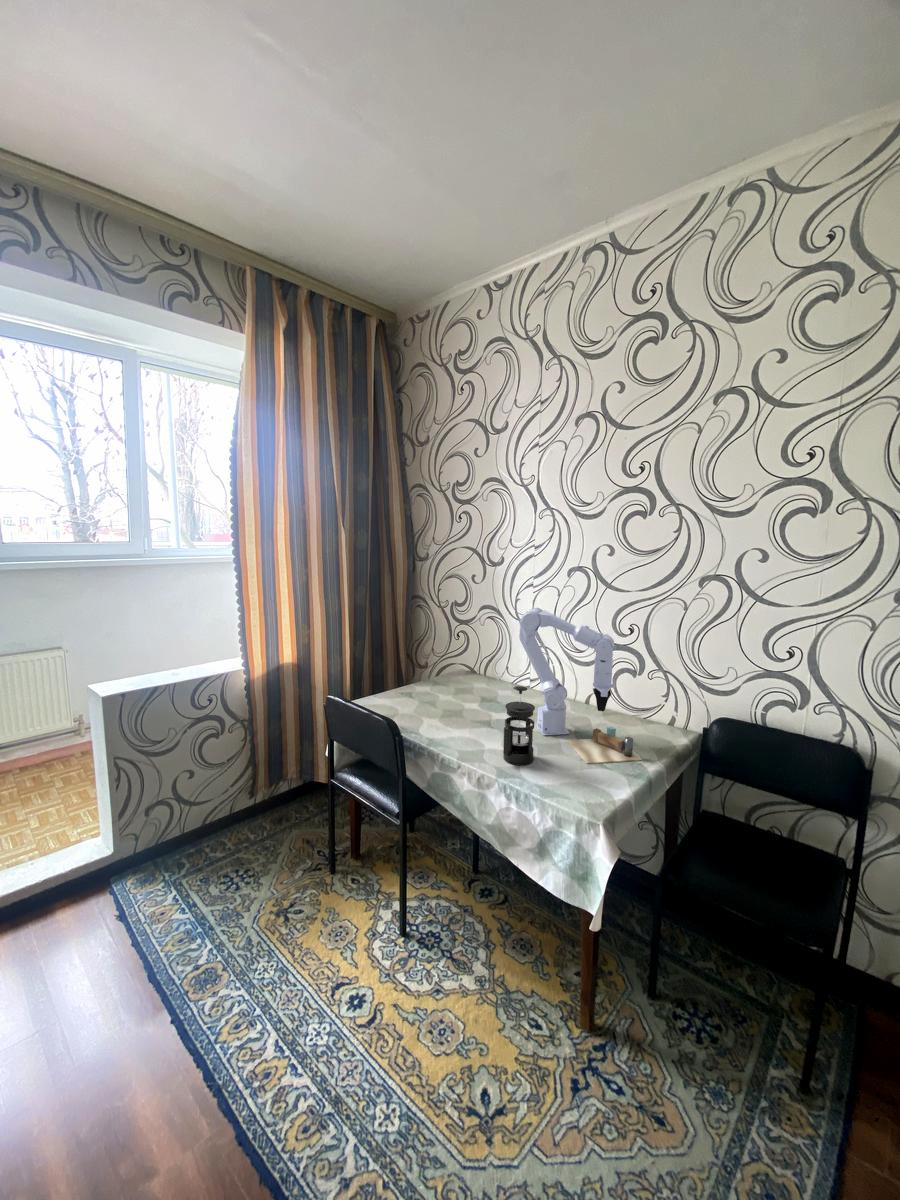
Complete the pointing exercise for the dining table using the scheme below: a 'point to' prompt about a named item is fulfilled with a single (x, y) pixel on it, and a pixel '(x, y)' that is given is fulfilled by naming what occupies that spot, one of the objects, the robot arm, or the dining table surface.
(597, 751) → the board
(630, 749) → the hinge post
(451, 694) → the dining table surface
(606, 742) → the tan wooden bar
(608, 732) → the post
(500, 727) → the dining table surface
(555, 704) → the robot arm
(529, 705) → the french press
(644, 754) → the dining table surface
